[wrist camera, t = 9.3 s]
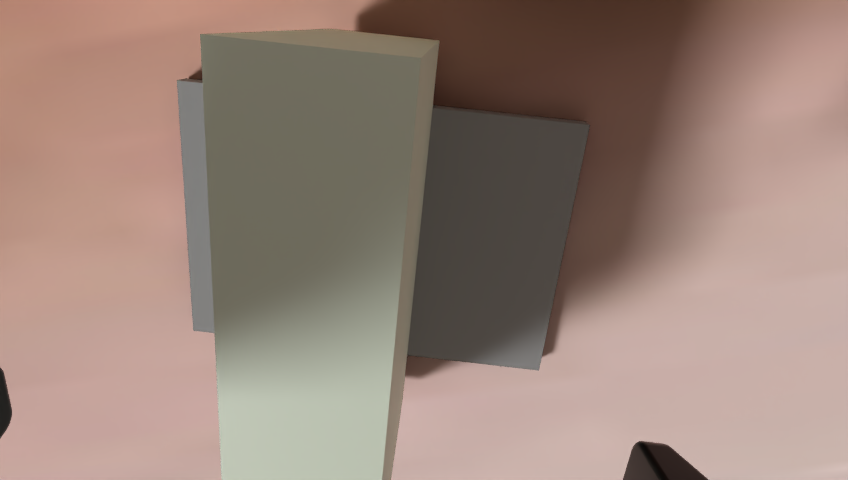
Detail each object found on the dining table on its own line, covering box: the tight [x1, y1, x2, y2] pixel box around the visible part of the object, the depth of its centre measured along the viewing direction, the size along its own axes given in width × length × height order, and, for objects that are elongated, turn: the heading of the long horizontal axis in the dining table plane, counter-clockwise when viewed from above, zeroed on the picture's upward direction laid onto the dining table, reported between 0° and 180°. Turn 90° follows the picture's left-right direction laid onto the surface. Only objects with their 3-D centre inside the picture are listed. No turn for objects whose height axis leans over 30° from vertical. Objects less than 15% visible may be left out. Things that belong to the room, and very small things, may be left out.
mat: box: [177, 78, 590, 370], centre depth 15 cm, size 10×7×1 cm
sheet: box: [200, 29, 440, 480], centre depth 11 cm, size 2×10×7 cm, turn 174°
